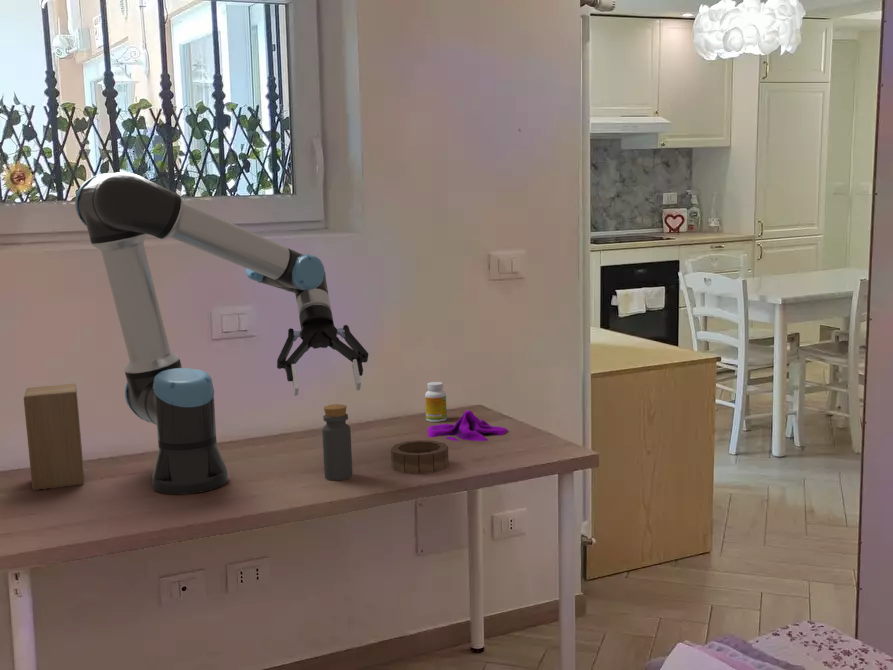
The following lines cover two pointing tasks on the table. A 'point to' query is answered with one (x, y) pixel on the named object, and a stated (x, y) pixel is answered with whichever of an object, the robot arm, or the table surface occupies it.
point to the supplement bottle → (435, 402)
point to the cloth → (466, 429)
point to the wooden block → (54, 436)
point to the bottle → (336, 443)
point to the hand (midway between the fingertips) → (327, 389)
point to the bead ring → (419, 456)
